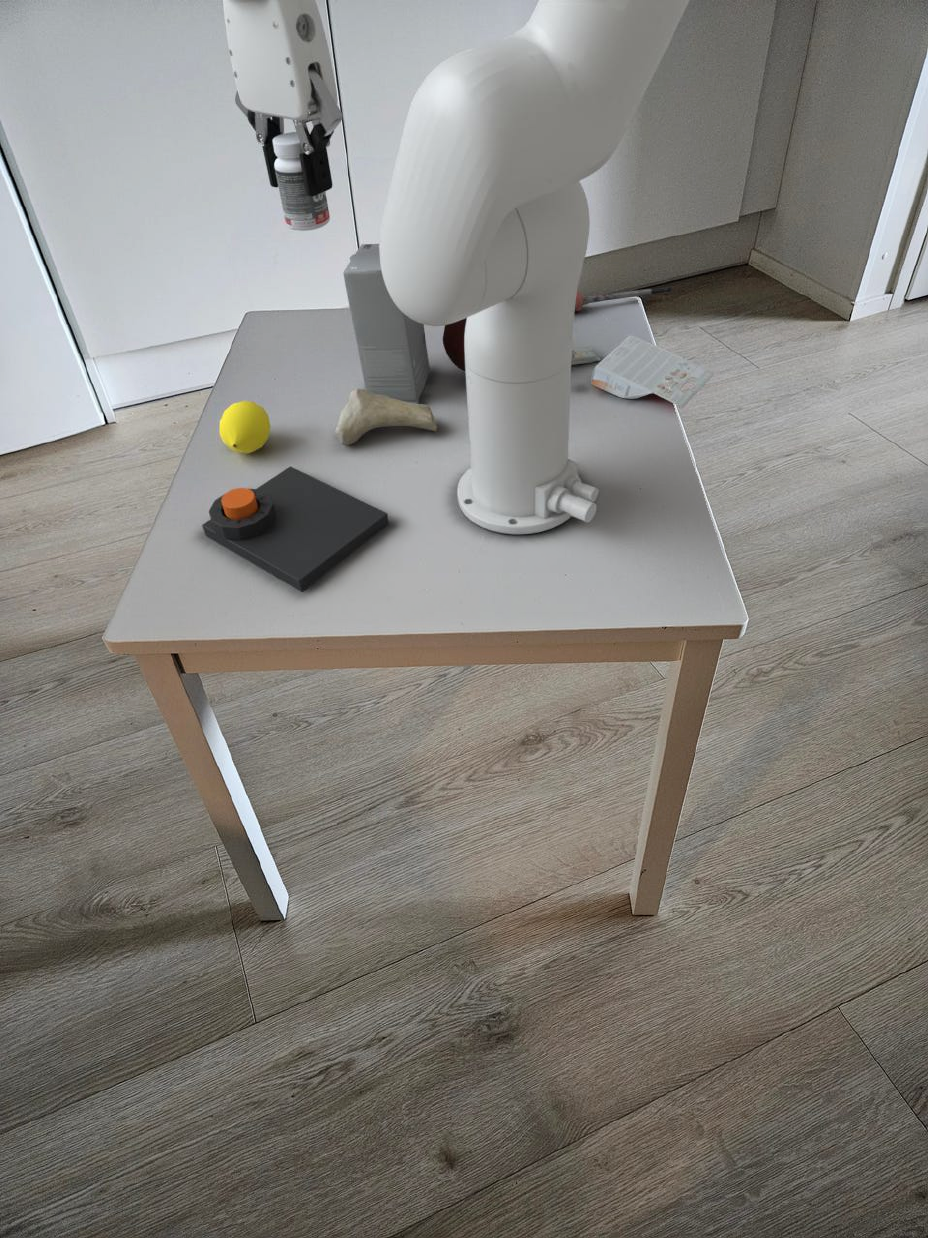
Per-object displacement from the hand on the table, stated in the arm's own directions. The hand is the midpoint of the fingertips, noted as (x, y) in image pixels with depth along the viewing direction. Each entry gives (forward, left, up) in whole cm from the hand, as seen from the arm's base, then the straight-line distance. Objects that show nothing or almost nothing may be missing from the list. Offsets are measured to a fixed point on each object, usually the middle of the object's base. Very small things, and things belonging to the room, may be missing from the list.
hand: (301, 185), depth 90 cm
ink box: (-26, -20, -21) cm, 39 cm away
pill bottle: (0, 0, -4) cm, 4 cm away
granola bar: (-20, -21, -22) cm, 36 cm away
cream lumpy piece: (-13, +5, -23) cm, 27 cm away
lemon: (-2, +16, -23) cm, 28 cm away
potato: (-15, -12, -23) cm, 30 cm away
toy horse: (-23, -18, -23) cm, 37 cm away
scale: (-17, +23, -23) cm, 36 cm away
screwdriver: (-16, -31, -21) cm, 41 cm away
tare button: (-13, +26, -20) cm, 35 cm away
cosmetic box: (-7, -4, -23) cm, 24 cm away
